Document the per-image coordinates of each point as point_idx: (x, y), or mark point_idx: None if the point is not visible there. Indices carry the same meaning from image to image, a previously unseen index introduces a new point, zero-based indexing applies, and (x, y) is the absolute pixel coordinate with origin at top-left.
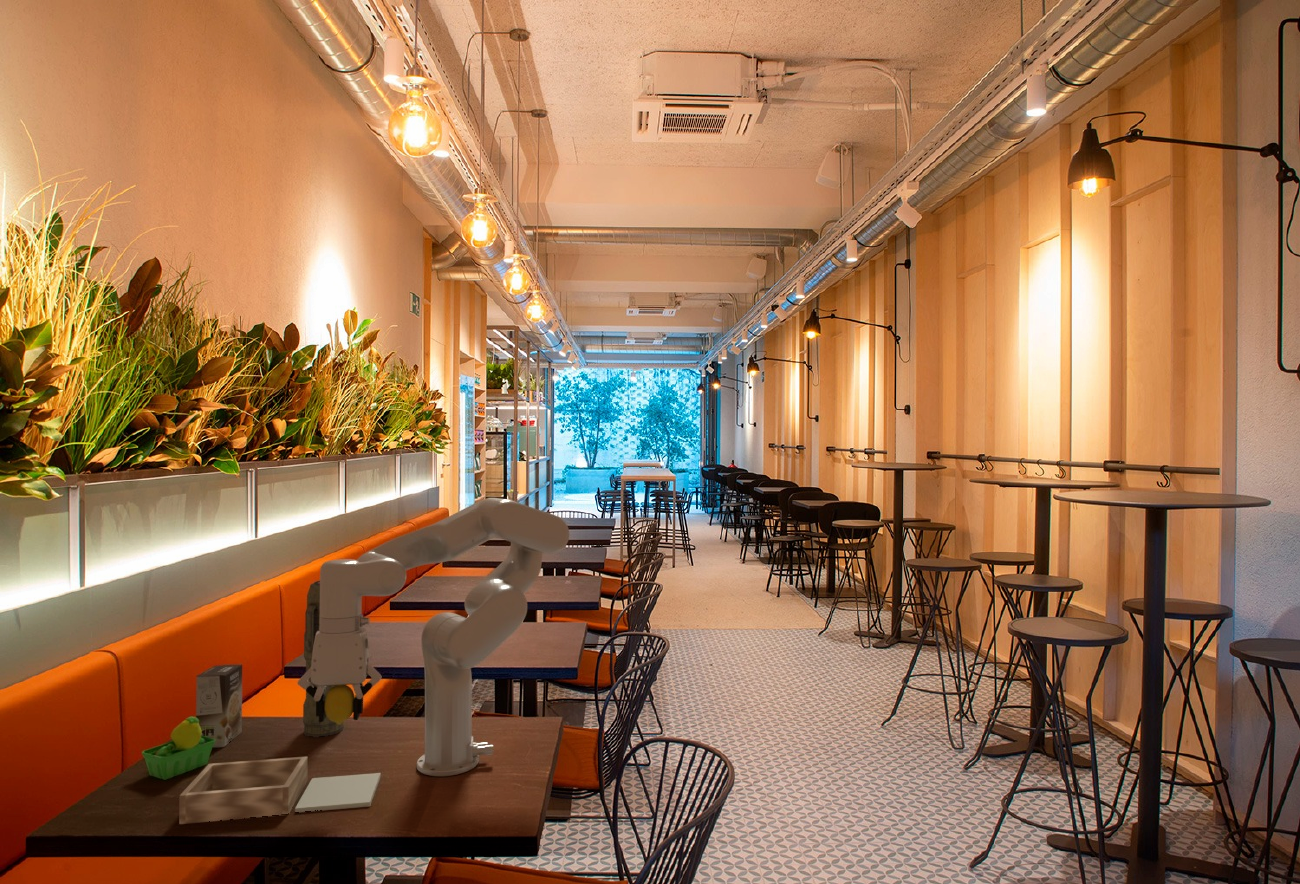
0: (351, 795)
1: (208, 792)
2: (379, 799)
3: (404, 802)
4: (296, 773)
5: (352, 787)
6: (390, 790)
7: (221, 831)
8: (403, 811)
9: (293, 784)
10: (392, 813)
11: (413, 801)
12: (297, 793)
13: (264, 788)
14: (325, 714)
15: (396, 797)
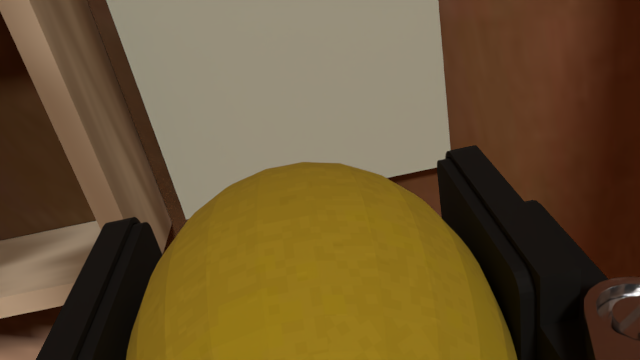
0: (360, 112)
1: None
2: (468, 100)
3: (568, 122)
4: (96, 162)
5: (336, 36)
6: (498, 17)
7: (19, 323)
8: (571, 186)
9: (130, 207)
10: (535, 200)
11: (601, 114)
12: (121, 113)
13: (55, 303)
14: (152, 264)
15: (533, 82)
